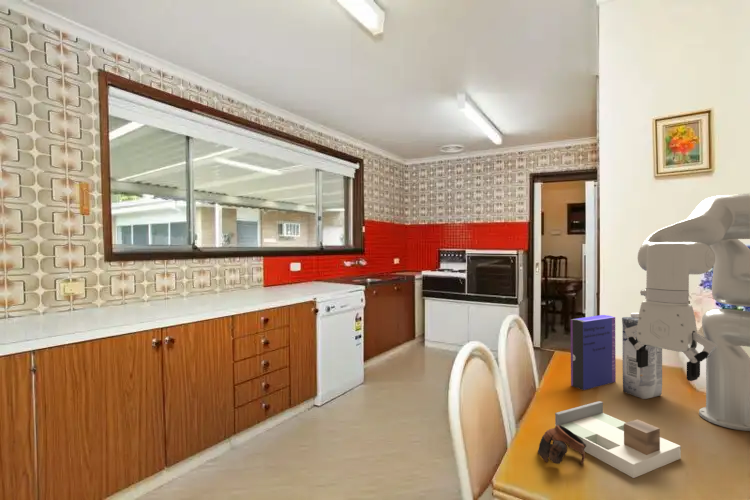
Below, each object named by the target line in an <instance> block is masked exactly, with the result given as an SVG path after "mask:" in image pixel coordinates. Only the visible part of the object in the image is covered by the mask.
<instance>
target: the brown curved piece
mask: <svg viewBox="0 0 750 500" xmlns="http://www.w3.org/2000/svg"><path fill="white" fill-rule="evenodd" d="M551 443H552V444H551ZM568 447H569V448H570V449H573V450H574V451H576V452H578V453H579V454H581V460H580V464H581V465H583V464H584V462H585V458H586V453H585V451H584V449H585V447H586V444H585V443H584V442H583V441H582V440H581V439H580V438H579V437H578V436H576V435H575V434H574V433H572V432H571V431H570V430H568V429H566V428H565V427H563V426H561V425H558V424H557V425H556V427H555V426H554V428H550V429H548V430H546V431H545V432H544V434H543V435H542V437H541V439H540V442H539V444H538V450H537V454H538V455H539V457H540V458H541V459H542V460H543V461H544V462H546V463H548V461H549V459H550V461H551V462H552V463H553V464H556V465H557V464H558V465H560V464H562V461H563V459H564V457H565V456H566V454H567V452H568Z"/></svg>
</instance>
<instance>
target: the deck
mask: <svg viewBox="0 0 750 500" xmlns="http://www.w3.org/2000/svg"><path fill="white" fill-rule="evenodd" d="M554 415H555V418H554V419H555V421H554V422H555V423H554V424H555V425H554V428H555V427H556V425H557V424H558V425H561V426H563V427H565V428H566V429H568V430H570V431H571V432H572V433H574V434H575V435H576V436H578V437H579V438H580V439H581V440H582V441H583V442H584V443H585V444H586V447H585V449H584V452H586V453H587V454H589V455H590V456H592V457H594V458H596V459H598V460H599V461H601V462H603V463H605V464H608V465H609V466H611V467H613V468H614V469H616V470H618V471H620V472H621V473H624V474H626V475H627V476H629V477H631V478H633V479H634V478H637V477H639V476H642V475H645V474H647V473H650V472H651V471H654V470H657V469H659V468H661V467H663V466H666V465H668V464H670V463H673V462H675V461H677V460H680V459H682V458H681V454H682V453H681V448H682V447H681V445H679V444H678V443H675V442H672V441H670V440H668V439H666V438H663V437H661V436H660V450H658V451H656V452H653V453H651V454H648V455H645V454H643V453H641V452H639V451H637V450H635V449H633V448H631V447H628V446H626V445H624V423H627V422H625V421H624V420H621V419H618V418H616V417H614V416H611V415H609V414H607V413H604V401H600V400H598V401H594V402H591V403H588V404H587V403H586V404H584V405H580V406H576V407H572V408H569V409H565V410H561V411H558V412H555V413H554Z"/></svg>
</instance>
